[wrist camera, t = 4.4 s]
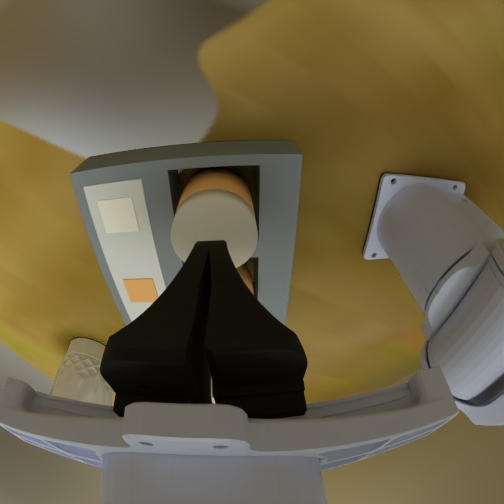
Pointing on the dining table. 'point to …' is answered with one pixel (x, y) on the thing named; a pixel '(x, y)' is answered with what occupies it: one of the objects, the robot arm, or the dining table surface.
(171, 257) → the board
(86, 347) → the white cup
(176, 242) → the button
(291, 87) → the dining table surface
